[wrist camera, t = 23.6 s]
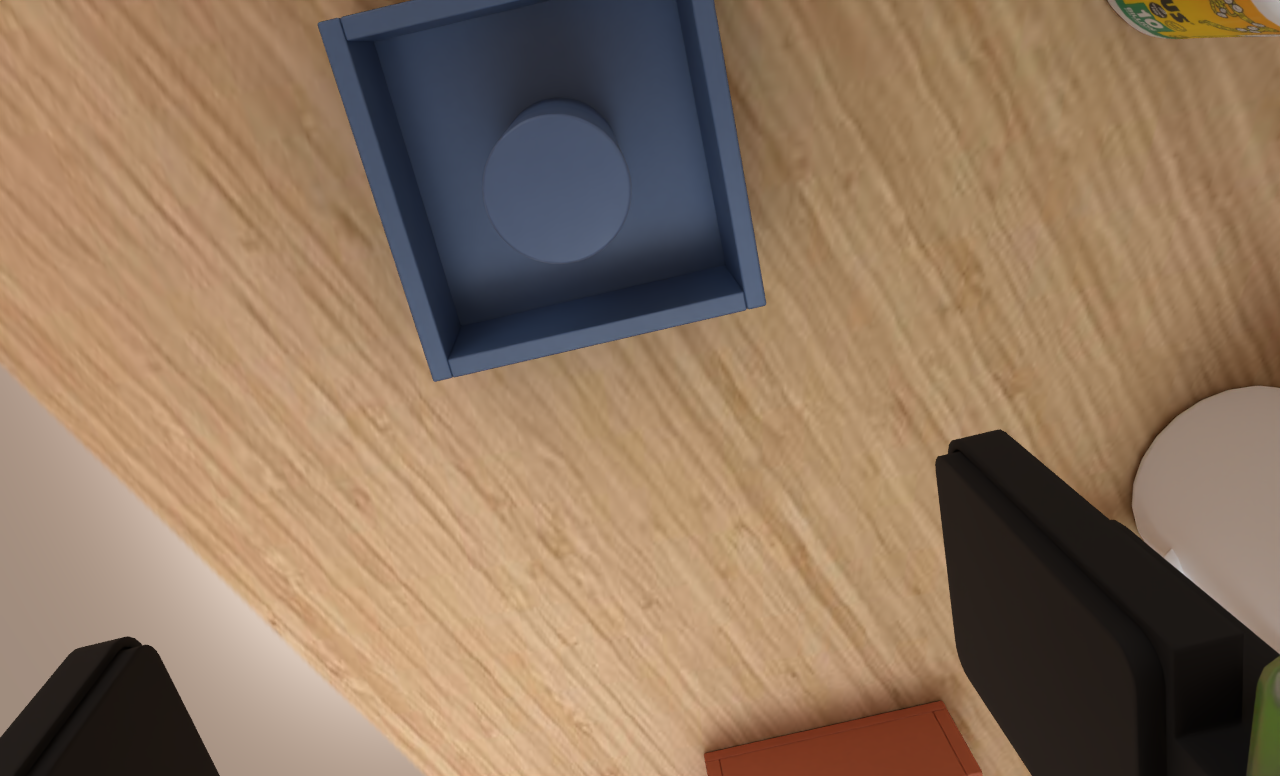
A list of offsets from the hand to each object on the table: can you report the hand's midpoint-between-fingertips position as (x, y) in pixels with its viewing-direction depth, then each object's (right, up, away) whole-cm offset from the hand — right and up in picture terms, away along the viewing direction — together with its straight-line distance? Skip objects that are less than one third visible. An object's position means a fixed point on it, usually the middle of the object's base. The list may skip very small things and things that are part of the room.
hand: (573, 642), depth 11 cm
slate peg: (-2, +10, +18) cm, 21 cm away
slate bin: (-2, +10, +18) cm, 21 cm away
